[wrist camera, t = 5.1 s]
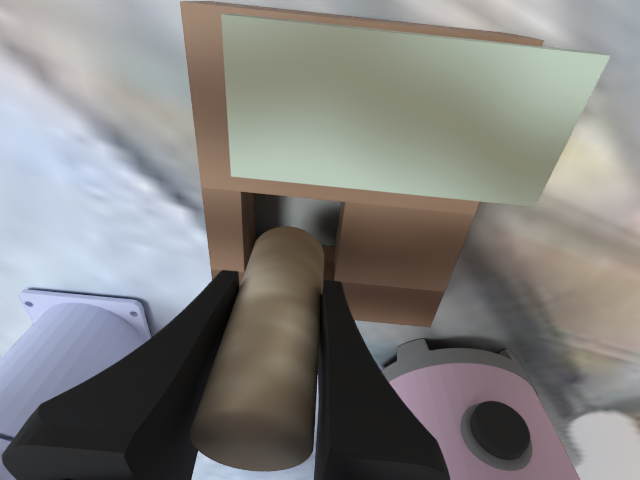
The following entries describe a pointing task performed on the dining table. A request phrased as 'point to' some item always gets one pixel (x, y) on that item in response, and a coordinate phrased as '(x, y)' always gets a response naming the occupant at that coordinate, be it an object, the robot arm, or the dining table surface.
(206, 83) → the socket deck
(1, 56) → the dining table surface
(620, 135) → the dining table surface
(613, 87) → the dining table surface
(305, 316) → the peg
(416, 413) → the blender
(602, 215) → the dining table surface
